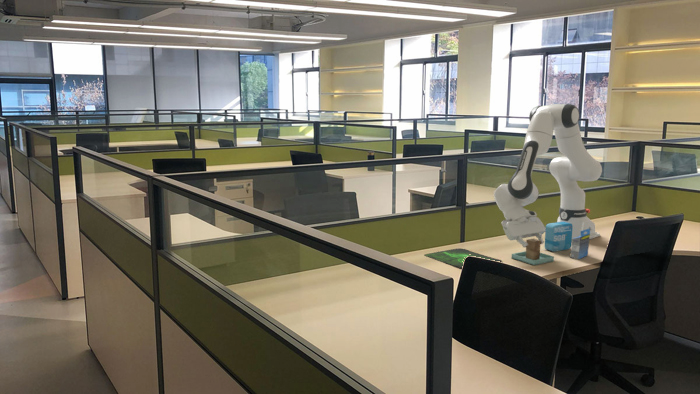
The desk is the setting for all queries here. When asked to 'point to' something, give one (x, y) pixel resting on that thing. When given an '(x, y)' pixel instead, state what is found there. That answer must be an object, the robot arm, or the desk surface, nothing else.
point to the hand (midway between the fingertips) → (534, 245)
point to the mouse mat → (455, 256)
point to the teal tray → (522, 257)
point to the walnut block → (533, 249)
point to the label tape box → (580, 245)
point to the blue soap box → (558, 236)
